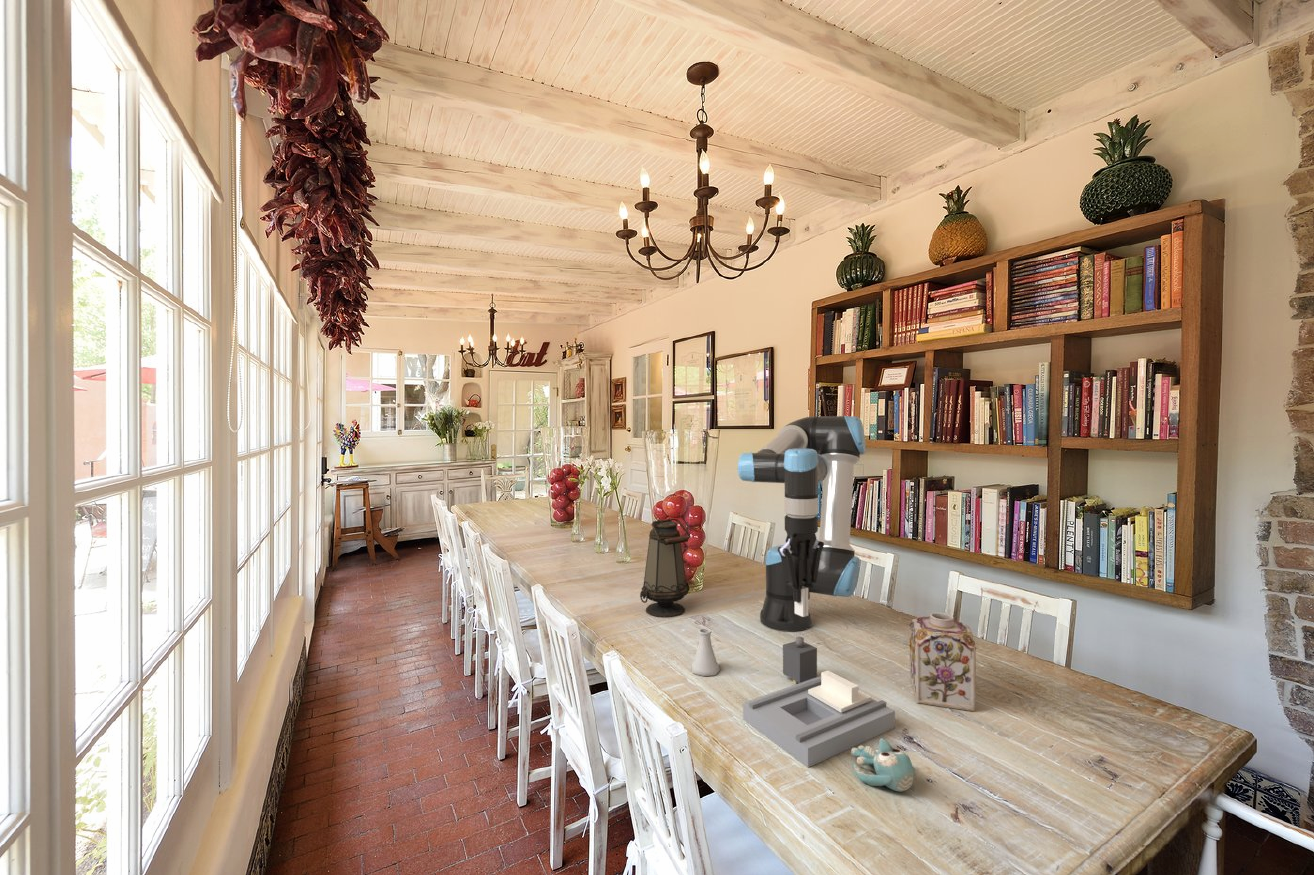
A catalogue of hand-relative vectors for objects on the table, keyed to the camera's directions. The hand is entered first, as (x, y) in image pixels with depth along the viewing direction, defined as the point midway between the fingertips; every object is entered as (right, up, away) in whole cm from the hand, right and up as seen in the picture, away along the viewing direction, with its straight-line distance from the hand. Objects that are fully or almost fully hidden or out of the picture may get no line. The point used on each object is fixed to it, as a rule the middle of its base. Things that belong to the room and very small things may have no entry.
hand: (801, 614), depth 127 cm
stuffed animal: (+5, -17, -33) cm, 38 cm away
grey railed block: (-1, -17, -17) cm, 24 cm away
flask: (-22, -16, +7) cm, 28 cm away
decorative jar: (+29, -16, -6) cm, 34 cm away
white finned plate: (+4, -13, -14) cm, 19 cm away
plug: (0, -16, +1) cm, 16 cm away
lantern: (-31, -15, +49) cm, 60 cm away
